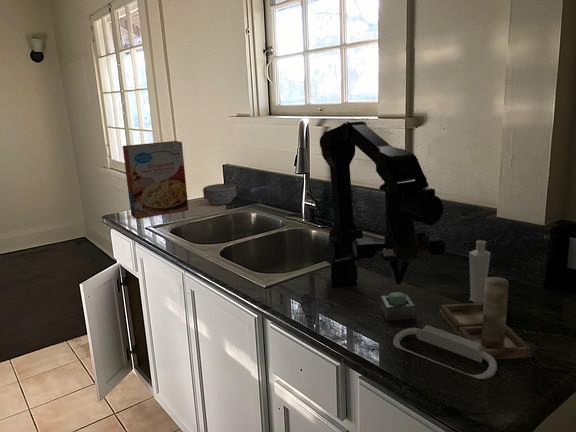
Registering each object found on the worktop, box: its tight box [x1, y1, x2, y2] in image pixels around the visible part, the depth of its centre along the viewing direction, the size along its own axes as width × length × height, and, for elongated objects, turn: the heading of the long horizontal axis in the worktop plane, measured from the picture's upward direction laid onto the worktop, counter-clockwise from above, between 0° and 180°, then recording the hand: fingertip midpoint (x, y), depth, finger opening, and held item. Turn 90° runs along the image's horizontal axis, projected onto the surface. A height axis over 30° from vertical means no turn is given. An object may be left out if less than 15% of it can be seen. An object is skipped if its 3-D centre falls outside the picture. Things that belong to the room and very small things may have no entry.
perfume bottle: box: [468, 239, 491, 303], centre depth 113 cm, size 5×4×15 cm
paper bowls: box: [202, 183, 237, 206], centre depth 230 cm, size 15×15×8 cm
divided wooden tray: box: [438, 302, 533, 361], centre depth 100 cm, size 10×21×2 cm, turn 2°
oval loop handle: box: [392, 324, 498, 380], centre depth 92 cm, size 20×8×4 cm, turn 44°
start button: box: [388, 291, 407, 305], centre depth 109 cm, size 4×4×4 cm
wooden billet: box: [481, 276, 510, 349], centre depth 93 cm, size 4×4×13 cm
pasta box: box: [122, 140, 189, 220], centre depth 213 cm, size 23×8×30 cm, turn 122°
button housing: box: [380, 294, 416, 321], centre depth 109 cm, size 6×6×4 cm
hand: (398, 283), depth 108 cm, fingers closed
